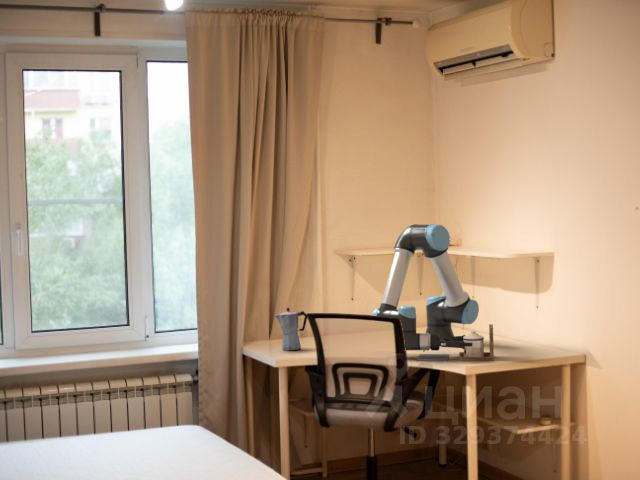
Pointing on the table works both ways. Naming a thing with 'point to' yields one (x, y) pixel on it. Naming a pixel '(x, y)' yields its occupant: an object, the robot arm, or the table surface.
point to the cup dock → (484, 352)
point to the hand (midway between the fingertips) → (480, 341)
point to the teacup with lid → (474, 351)
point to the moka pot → (290, 329)
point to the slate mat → (433, 357)
